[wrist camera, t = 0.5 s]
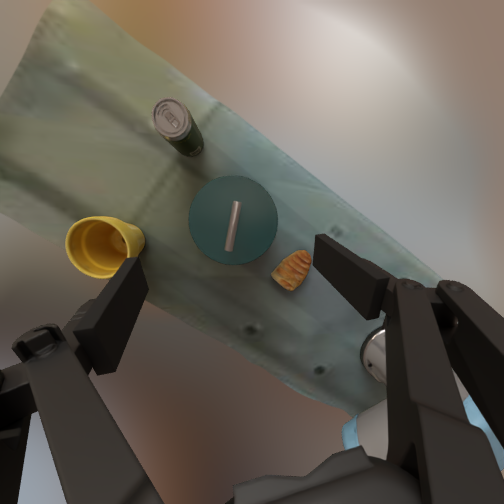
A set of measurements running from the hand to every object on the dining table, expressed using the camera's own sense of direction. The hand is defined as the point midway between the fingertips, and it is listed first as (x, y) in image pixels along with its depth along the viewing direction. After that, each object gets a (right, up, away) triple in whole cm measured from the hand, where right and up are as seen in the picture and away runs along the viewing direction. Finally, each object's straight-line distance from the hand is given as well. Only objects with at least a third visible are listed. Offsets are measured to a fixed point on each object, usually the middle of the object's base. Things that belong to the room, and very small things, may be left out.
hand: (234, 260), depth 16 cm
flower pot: (-25, +3, +28) cm, 37 cm away
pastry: (+10, -3, +32) cm, 33 cm away
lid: (-2, +6, +21) cm, 22 cm away
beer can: (-11, +22, +25) cm, 35 cm away
